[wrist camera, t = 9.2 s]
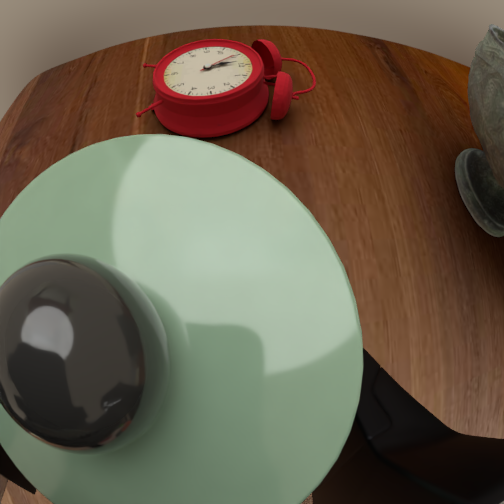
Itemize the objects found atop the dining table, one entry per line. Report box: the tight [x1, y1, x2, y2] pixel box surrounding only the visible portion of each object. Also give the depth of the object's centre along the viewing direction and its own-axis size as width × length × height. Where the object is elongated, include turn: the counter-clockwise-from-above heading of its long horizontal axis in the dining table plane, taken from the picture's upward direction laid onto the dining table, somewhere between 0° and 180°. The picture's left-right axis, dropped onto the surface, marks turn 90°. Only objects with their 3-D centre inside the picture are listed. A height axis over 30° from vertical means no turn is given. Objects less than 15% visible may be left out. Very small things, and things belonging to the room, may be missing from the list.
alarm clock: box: [136, 39, 316, 138], centre depth 21 cm, size 10×6×15 cm
